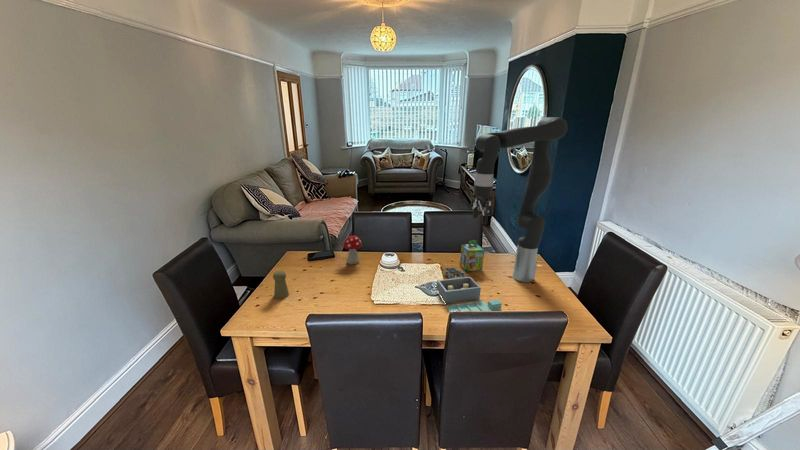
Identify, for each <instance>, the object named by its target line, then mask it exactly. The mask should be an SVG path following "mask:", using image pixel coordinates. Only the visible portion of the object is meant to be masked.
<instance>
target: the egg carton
mask: <svg viewBox="0 0 800 450" xmlns="http://www.w3.org/2000/svg"><path fill="white" fill-rule="evenodd" d="M443 270H444V273H443V275H444V276H445V277H446V276H447V277H448V278H447V279H454V278H463V277H466V275H467V272H466V271H465V270H463V271H462V270H460V269H459V268H456V267H455V266H449V267H448V266H447V267H443ZM455 275H457V276H455Z"/></svg>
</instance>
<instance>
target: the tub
mask: <svg viewBox="0 0 800 450" xmlns="http://www.w3.org/2000/svg"><path fill="white" fill-rule="evenodd" d="M437 290H438V291H439V293H440V295H441V296H442V298H443V300H444V301H445V303H446V304H445V305H451V304H452V305H453V304H457V303H458V304H460V303H468V302H472V301H473V302H475V301H481V300H480V298H481V290H482V287H481V285H479V284H478V283H477V282H476V281H475V280H474V279H473V278H472V277H471V276H465V277H463V278H459V277H458V278H454V279H449V278H447V279H439V280H436V291H437Z"/></svg>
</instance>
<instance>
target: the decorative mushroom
mask: <svg viewBox="0 0 800 450" xmlns="http://www.w3.org/2000/svg"><path fill="white" fill-rule="evenodd" d="M342 246H343V249H346V250H348V255H347V259H346V263H347V264H348V265H356V264H359V262H360V257H359V255H358V251H357V249H360V248H361V247H363V244H362V240H361V238H360V237H359V236H357V235H350V236H347V237H346V238H345V239H344V240H343V244H342Z"/></svg>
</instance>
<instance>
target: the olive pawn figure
mask: <svg viewBox="0 0 800 450" xmlns="http://www.w3.org/2000/svg"><path fill="white" fill-rule="evenodd" d="M272 278H273V280H274V292H273V295H274V296H273V297H274V299H277V300H283V299H285V298H288V297H289V296H290V292H289V289H288V285H287V281H286V278H287V274H286V272H285V271H284V270H278V271H275V272H273V274H272Z"/></svg>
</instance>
